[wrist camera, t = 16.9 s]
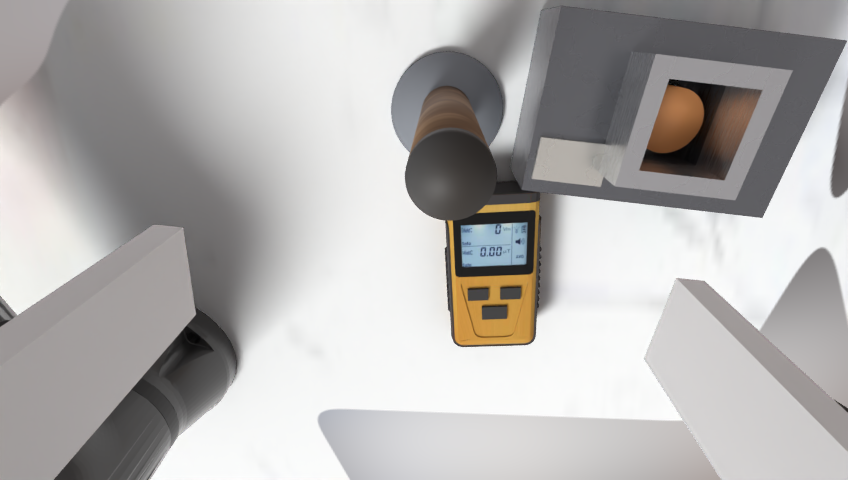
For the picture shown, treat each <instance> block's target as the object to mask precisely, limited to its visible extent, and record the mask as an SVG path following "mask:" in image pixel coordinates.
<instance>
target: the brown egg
mask: <svg viewBox="0 0 848 480" xmlns="http://www.w3.org/2000/svg"><path fill="white" fill-rule="evenodd" d="M703 118H704V107H703V103H702V101H701V99H700V98H699V96H698V95H697V94H696V93H695V92H693V91H691V90H690V89H687V88H683V87H678V86H674V85H670V84H667V87H666V90H665V94H664V97H663V100H662V103H661V106H660V109H659V112H658V115H657V118H656V121H655V124H654V127H653V130H652V133H651V136H650V139H649V142H648V145H647V149H649V150H651V151H653V152H657V153H669V152H673V151H676V150H678V149H680V148H682V147H684V146H685V145H687V144H688V143H689V142H690V141H691V140H692V139H693V138H694V137H695V136H696V135H697V133H698V132H699V130H700V128H701V126H702V123H703Z"/></svg>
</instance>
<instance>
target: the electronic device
mask: <svg viewBox="0 0 848 480" xmlns="http://www.w3.org/2000/svg"><path fill="white" fill-rule="evenodd" d="M539 203H540V192H535V191H527V190H521V188H520V186H519V184H518V182H517V181H510V182H496V186H495V190H494V192H493V195H492V196H491V198H490V200H489V201H488V203H487V204H486V205H485V206H484V207H483V208H482V209H481V210H480V211H478V212H477V213H475V214H474V215H472V216H470V217H467V218H464V219H460V220H453V221H448V220H445V223H446V242H447V247H446V248H445V261H446V276H447V296H448V310H449V311H450V316H451V335H452V339H453V341H454V343H455V344H456V345H458V346H461V347H479V346H512V345H528V344H530V343H532V342H533V341H534V339H535V336H536V318H537V308H538V307H539V304H538V301H539V297H538V294H539V289H538V288H539V287H540V284H539V282H538V281H539V280H540V276H539V273H540V269H539V266H540V265H541V263H540V261H539V259H540V258H541V255H540V251H541V247H540V231H541V217H540V215H539Z"/></svg>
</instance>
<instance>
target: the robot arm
mask: <svg viewBox="0 0 848 480" xmlns="http://www.w3.org/2000/svg"><path fill="white" fill-rule="evenodd" d="M644 360H645V362H646V363H647V365H648V366H649V368H650V369H651V371H652V372H653V374H654V376H655V377H656V379H657V380H658V382H659V383H660V385H661V387H662V388H663V390H664V391H665V393H666V394H667V396H668V397H669V399H670V401H671V402H672V404H673V405H674V407H675V408H676V410H677V412H678V413H679V415H680V416H681V418H682V419H683V421H684V422H685V424H686V426H687V427H688V429H689V430H690V432H691V433H692V435H693V436H694V438H695V440H696V441H697V443H698V444H699V446H700V447H701V449H702V450H703V452H704V454H705V455H706V457H707V458H708V460H709V462H710V463H711V465H712V466H713V468H714V469H715V471H716V472H717V474H718V476H719V477H720V478H721V480H848V408H846V407H845V406H843V405H842V404H840V403H838V402H837V401H835V400H834V399H832V398H831V397H830V396H829V395H828V394H827V393H826V392H825V391H824V390H823V389H821V388H820V387H819V386H818V385H817V384H816V383H815V382H814V381H813V380H812V379H810V378H809V377H808V376H807V375H806V374H805V373H804V372H803V371H802V370H801V369H800V368H798V367H797V366H796V365H795V364H794V363H793V362H792V361H791V360H790V359H789V358H788V357H787V356H786V355H784V354H783V353H782V352H781V351H780V350H779V349H778V348H777V347H776V346H775V345H773V344H772V343H771V342H770V341H769V340H768V339H767V338H766V337H765V336H764V335H763V334H761V333H760V332H759V331H758V330H757V329H756V328H755V327H754V326H753V325H752V324H751V323H750V322H748V321H747V320H746V319H745V318H744V317H743V316H742V315H741V314H740V313H739V312H738V311H737V310H735V309H734V308H733V307H732V306H731V305H730V304H729V303H728V302H727V301H726V300H725V299H723V298H722V297H721V296H720V295H719V294H718V293H717V292H716V291H715V290H714V289H713V288H711V287H710V286H709V285H708V284H707V283H706V282H705V281H699V280H690V279H680V278H676V280H675V283H674V285H673V288H672V290H671V293H670V295H669V298H668V300H667V302H666V305H665V307H664V310H663V312H662V315H661V317H660V320H659V322H658V325H657V327H656V330H655V332H654V335H653V337H652V340H651V342H650V345H649V347H648V350H647V352H646V355H645V357H644ZM235 374H236V356H235V352H234V349H233V347H232V344H231V342H230V340H229V339H228V337H227V336H226V334H225V333H224V332H223V330H222V329H221V328H220V327H219V326H218V325H217V324H216V323H215V322H214V321H213V320H212V319H211V318H210V317H208V316H207V315H206V314H204V313H203V312H201V311H200V310H198V309H196V308H195V304H194V297H193V290H192V284H191V277H190V270H189V263H188V256H187V249H186V242H185V236H184V229H183V227H175V226H165V225H155V224H154V225H152V226H151V227H149V228H148V229H146V230H145V231H143V232H142V233H140V234H139V235H137V236H136V237H134V238H133V239H131V240H130V241H128V242H127V243H125V244H124V245H122V246H121V247H119V248H118V249H116V250H115V251H113V252H112V253H110V254H109V255H107V256H106V257H104V258H103V259H101V260H100V261H98V262H97V263H95V264H94V265H92V266H91V267H89V268H88V269H86V270H85V271H83V272H82V273H80V274H79V275H77V276H76V277H74V278H73V279H71V280H70V281H68V282H67V283H65V284H64V285H62V286H61V287H59V288H58V289H56V290H55V291H53V292H52V293H50V294H49V295H47V296H46V297H44V298H43V299H41V300H40V301H38V302H37V303H35V304H34V305H33V306H31V307H30V308H28V309H27V310H25V311H24V312H22V313H21V314H19V315H18V316H17V314H16V313H15V312H14V311H13V310H12V309H11V308H10V307H9V305H8V304H7V303H6V302H5V301H4V300H3V299H2V297H1V296H0V480H150V479H151V477H152V476H153V474H154V473H155V471H156V470H157V468H158V466H159V465H160V463H161V462H162V460H163V459H164V457H165V456H166V454H167V452H168V451H169V449H170V448H171V446H172V445H173V443H174V442H175V440H176V439H177V437H178V436H179V435H180V434H181V433H183V432H184V431H185V430H186V429H187V428H189V427H190V426H191V425H192V424H193V423H195V422H196V421H197V420H198V419H199V418H200V417H202V416H203V415H204V414H205V413H206V412H207V411H209V410H210V409H212V408H213V407H215V406H216V405H217V404H218V403H219V402H220V400H221V399H222V398H223V397H224V395H225V393H226V392H227V390H228V388H229V387H230V385H231V383H232V382H233V380H234V377H235Z"/></svg>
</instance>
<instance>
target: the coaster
mask: <svg viewBox="0 0 848 480" xmlns="http://www.w3.org/2000/svg"><path fill="white" fill-rule="evenodd" d="M441 86H453V87H456V88H458V89H460V90H461V91H462V92H463V93H464V94H465V95H466V96H467V98H468V99H469V102H470V104H471V106H472V109H473V111H474V114H475V116H476V118H477V121H478V123H479V126H480V128H481V130H482V133H483V135H484V137H485V140H486V142H487V145H488V147H489V146H490V144H491V143H492V141H493V140H494V138H495V136H496V135H497V133H498V130H499V127H500V124H501V120H502V113H503V103H502V96H501V92H500V89H499V87H498V84H497V82H496V80H495V78H494V77H493V75H492V74H491V73H490V71H489V70H488V69H487V68H486V67H485V66H484V65H483V64H482V63H480V62H479V61H477V60H476V59H474V58H472V57H470V56H468V55H465V54H462V53H457V52H438V53H434V54H431V55H428V56H425V57H423V58H422V59H420V60H418V61H417V62H415V63H414V64H413V65H411V66H410V67H409V68H408V69H407V70H406V72H405V73H404V74H403V76H402V77H401V78H400V80H399V82H398V84H397V86H396V88H395V91H394V94H393V98H392V105H391V114H392V122H393V126H394V129H395V132H396V134H397V136H398V138H399V140H400V141H401V143H402V144H403V146H404V147H405V148H406V149H407V150H408V151H409V152H410V151H411V147H412V143H413V139H414V136H415V132H416V128H417V124H418V120H419V117H420V113H421V109H422V105H423V102H424V100H425V98H426V97H427V95H428V94H429V93H430V92H431V91H433V90H434V89H436V88H438V87H441Z"/></svg>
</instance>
